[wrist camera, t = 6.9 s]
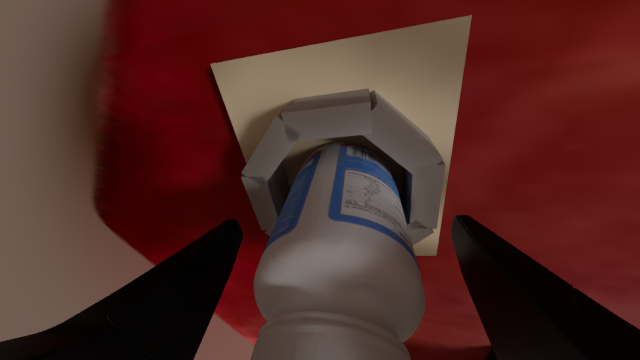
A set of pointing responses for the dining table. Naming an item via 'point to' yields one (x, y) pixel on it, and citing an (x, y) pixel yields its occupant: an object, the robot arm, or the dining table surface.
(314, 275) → the pill bottle
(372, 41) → the collar
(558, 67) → the dining table surface
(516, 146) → the dining table surface
